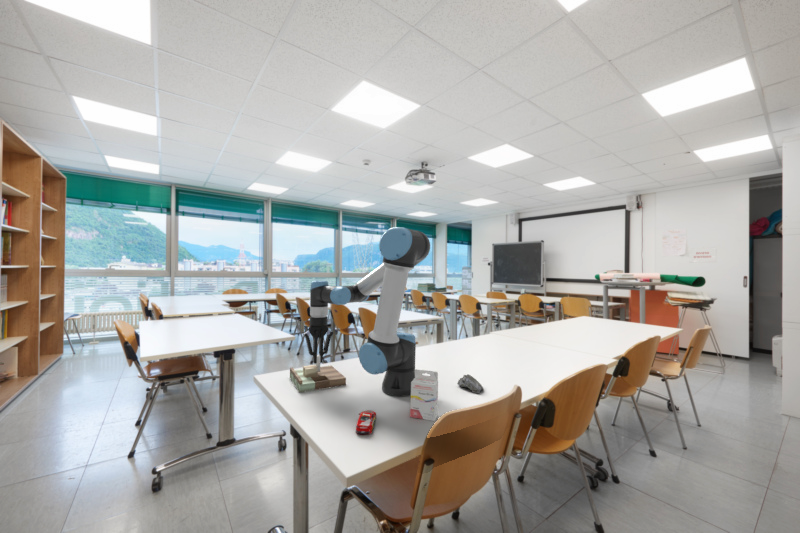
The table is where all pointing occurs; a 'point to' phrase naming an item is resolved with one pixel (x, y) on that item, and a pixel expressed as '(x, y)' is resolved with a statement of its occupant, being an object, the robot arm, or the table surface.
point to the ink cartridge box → (424, 395)
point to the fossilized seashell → (470, 383)
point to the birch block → (310, 371)
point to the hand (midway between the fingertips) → (317, 370)
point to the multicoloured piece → (317, 379)
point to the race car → (366, 422)
